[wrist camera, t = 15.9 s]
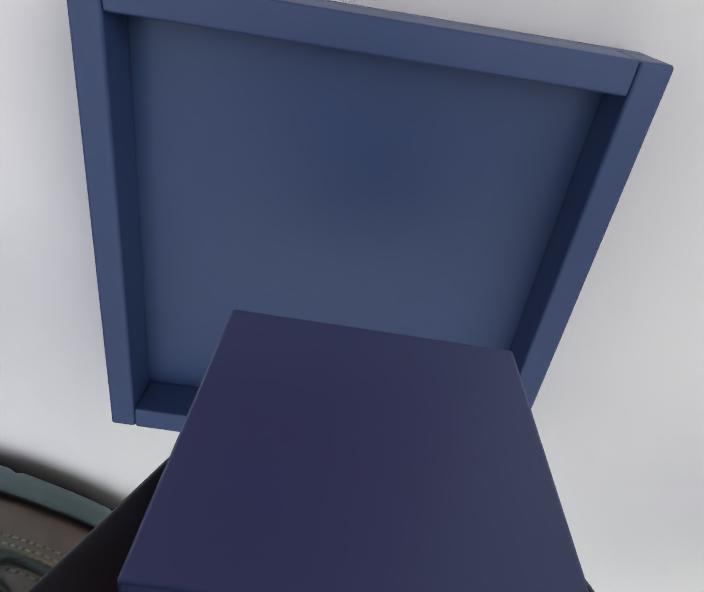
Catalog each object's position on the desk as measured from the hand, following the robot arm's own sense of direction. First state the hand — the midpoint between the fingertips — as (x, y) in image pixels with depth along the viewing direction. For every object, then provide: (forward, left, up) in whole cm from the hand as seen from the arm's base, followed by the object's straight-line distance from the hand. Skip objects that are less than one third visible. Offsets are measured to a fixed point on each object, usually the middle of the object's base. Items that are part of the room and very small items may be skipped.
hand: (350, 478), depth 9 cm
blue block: (0, 0, -1) cm, 1 cm away
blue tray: (+1, +1, -9) cm, 9 cm away
